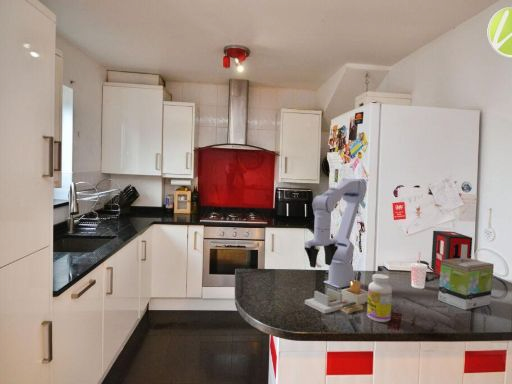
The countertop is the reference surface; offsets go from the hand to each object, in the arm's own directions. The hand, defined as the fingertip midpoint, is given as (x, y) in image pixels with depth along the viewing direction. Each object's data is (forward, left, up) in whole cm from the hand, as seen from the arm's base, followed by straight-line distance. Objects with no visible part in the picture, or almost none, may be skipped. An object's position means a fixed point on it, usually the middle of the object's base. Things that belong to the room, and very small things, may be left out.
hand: (320, 265), depth 116 cm
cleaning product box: (-67, +13, -10) cm, 69 cm away
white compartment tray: (+6, +10, -10) cm, 15 cm away
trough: (+2, +16, -10) cm, 19 cm away
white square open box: (-6, +12, -10) cm, 16 cm away
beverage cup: (-42, +13, -10) cm, 45 cm away
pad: (+6, +10, -8) cm, 14 cm away
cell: (-6, +11, -9) cm, 16 cm away
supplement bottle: (0, +25, -10) cm, 27 cm away
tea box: (-40, +31, -10) cm, 52 cm away
